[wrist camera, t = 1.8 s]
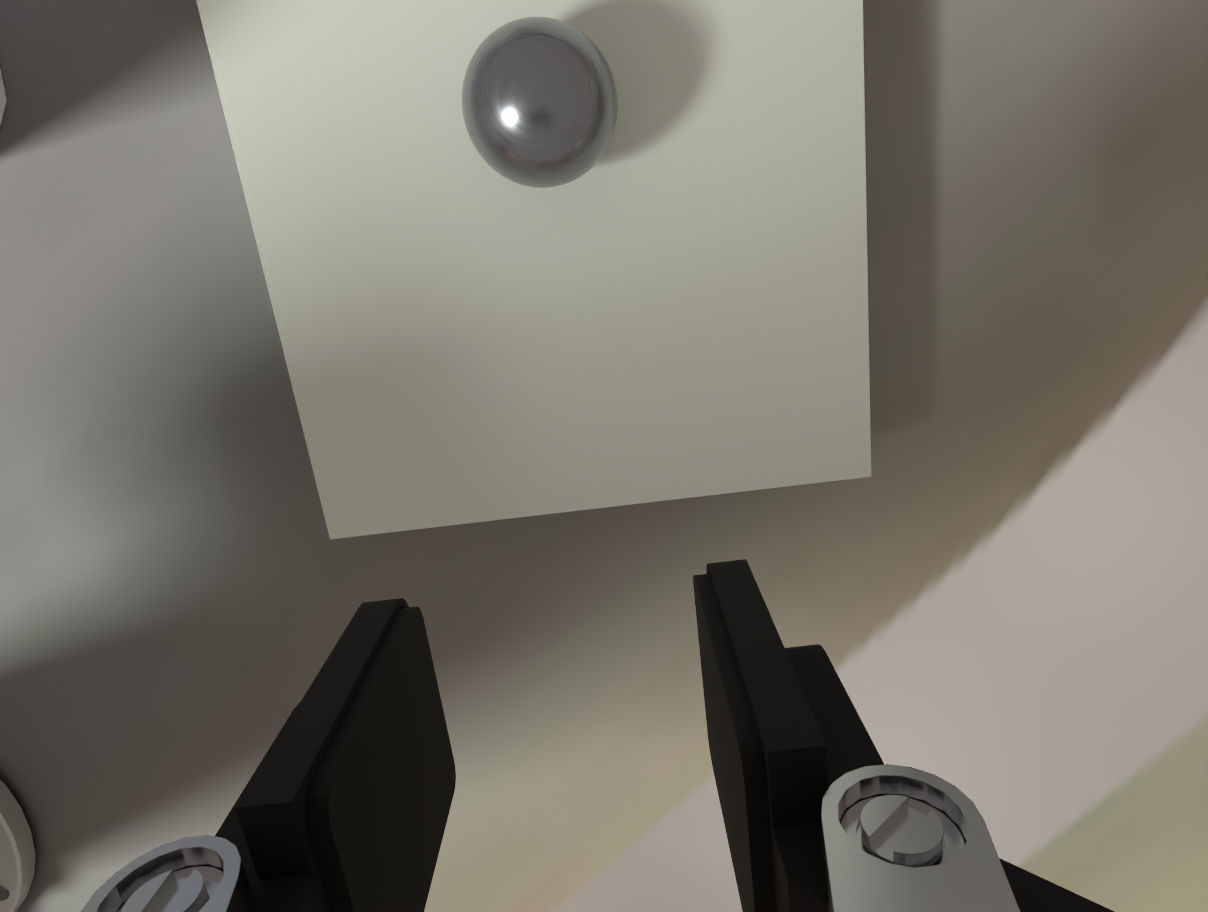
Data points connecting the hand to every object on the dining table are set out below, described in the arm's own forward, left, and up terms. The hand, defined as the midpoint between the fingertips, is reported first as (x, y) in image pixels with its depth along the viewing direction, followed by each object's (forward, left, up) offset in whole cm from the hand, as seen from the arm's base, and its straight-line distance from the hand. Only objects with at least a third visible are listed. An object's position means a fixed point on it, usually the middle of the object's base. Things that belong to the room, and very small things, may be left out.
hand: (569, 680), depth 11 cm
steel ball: (+9, 0, -12) cm, 15 cm away
